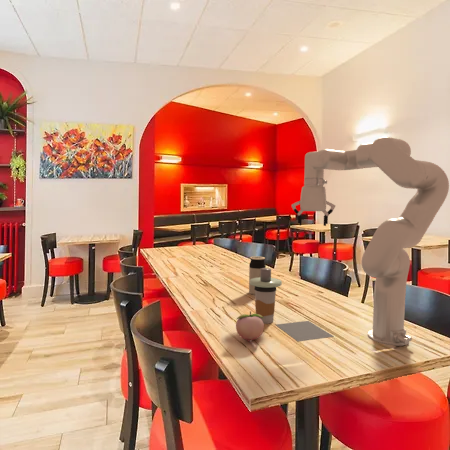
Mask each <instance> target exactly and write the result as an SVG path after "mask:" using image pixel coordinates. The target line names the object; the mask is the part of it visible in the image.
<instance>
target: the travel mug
mask: <svg viewBox="0 0 450 450" xmlns="http://www.w3.org/2000/svg"><path fill="white" fill-rule="evenodd" d="M249 258H250V262H249V266H248V267H249V268H248V272H249V273H248V279H249V280H248V281H249V282H248V292H249V294H250V295H254V296H255V290H254V288H255V286H253V285H251V284H250V279H253V278H259V277H260V269H261V268H267V267H266V262H265V261H266V257H264V256H259V255H258V256H257V255H256V256H255V255H253V256H250V257H249Z"/></svg>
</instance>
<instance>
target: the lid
mask: <svg viewBox="0 0 450 450" xmlns="http://www.w3.org/2000/svg"><path fill="white" fill-rule="evenodd" d="M282 283H283V282H282V280H281V279H279V278H276V277H274V278H273V277H272V268H269V267H266V268H261V269H260V277H259V278H253V279H250V284H251V285H253V286H256V287H265V288H271V287H276V288H277V287H281V286H282Z"/></svg>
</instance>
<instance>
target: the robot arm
mask: <svg viewBox="0 0 450 450" xmlns="http://www.w3.org/2000/svg"><path fill="white" fill-rule="evenodd" d="M411 154H412V149H411V146H410V144H409V143H408V142H406V141H405V140H403V139H401V138H396V137H395V138H394V137H391V136H382V137H379V138H377V139H375V140H374V141H373V142H367V143H365V142H364V143H362V144H360V145H358V146H357V148H356V149H353V150H335V149H329V148H324V149H321V150H318V151H309V152H307V153H306V154H305V155H304V179H303V180H304V181H303V186H302V187H301V192H300V200H299V201H296V202H294V203H292V204H291V208H292V210H293V213H295V214H296V215H297V224H299V226H302V221H303V220H302V219H303V217H302V213H304V212H322V213H323V214H324V216H323V226H325V227H327V225H328V222H329V220H328V219H329V216H330V214H332V213H333V211H335V208H336V205H335V204H334V203H332V202H329V201H328V200H327V194H326V193H327V192H326V190H327V189H326V186H324V185H327V184H328V180H327V179H326V180H325V179H324V174H325V173H324V171H325V170H327V171H328V170H329V171H331V170H332V171H351V170H360V169H371V168H379V170H381V172H383V174H385V175H386V176H387V177H388V178H389V179H390V180H392V182H393V183H394V184H396V185H398V186H399V187H401V188H403V189H414V190H417V191H416V192H415V194H414V195H413V196H412V197H411V199H409V201H408V202H407V204H406V206H405V208H404V210H403V211H402V213H401V214H400V216H399V217H398V218H389V219H386V220H385V221H383V222H382V223H381V224H380V225H379V226H378V227H377V228H376V230H375V231H374V234H373V235H372V238H371V239H370V241H369V242H368V245H367V246H366V248H365V250H364V252H363V255H362V257H361V268H362V270H363V272H364V273H365V274H366V275H367V276H369V277H371V278H375V281H374V289H373V290H374V291H373V292H374V294H373V308H372V309H373V313H372V314H373V315H372V329H370V330H368V332H367V337H368V338H369V339H371V340H372V341H374V342H377V343H380V344H384V345H388V346H393V347H402V346H407V345H409V344H410V342H411V341H412V340H413V338H412V336H410V335H407V329H405V312H406V311H405V310H406V309H405V308H406V297H407V296H406V294H407V293H406V292H407V281H408V275H409V271H410V267H411V265H410V264H411V261H410V260H411V259H410V256H409V254H408V252H407V251H406V249H410V248H413V247H416V246H417V245H418V244H419V243H420V242H421V241H422V239H423V237H424V236H425V234H426V232H427V231H428V229H429V227H430V226H431V225H432V222H433V221H434V219H435V217H436V216H437V213H438V212H439V211H440V209H441V208H442V206H443V204H444V203H445V201H446V199H447V197H448V195H449V191H450V183H449V178H448V175H447V174H446V172H445V171H444V170H443V168H442V167H441V166H439V165H438V164H436V163H433V162H431V161H426V160H418V159H414V158H413V157H412V156H411ZM299 205H300V207H299V208H300V210H298V209H297V208H296V206H299ZM327 206H329V207H330V208H329V210H326V209H327Z"/></svg>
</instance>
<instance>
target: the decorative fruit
mask: <svg viewBox="0 0 450 450" xmlns="http://www.w3.org/2000/svg"><path fill="white" fill-rule="evenodd" d="M260 317H262V316H261V315H259V314H256V313H252V311H249V314H245V313H244V314H243V313H242V314H240V315H239V316H238V317H236V323H235V330H236V332H237V334H238V336H240V338H242V339H243V340H245V341H248V342H251V341H254V340H256V339H258V338H260V337H261V335H262V334H263V332H264V329H265V323H263V321H262V319H261V318H260ZM262 318H263V317H262Z"/></svg>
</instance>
